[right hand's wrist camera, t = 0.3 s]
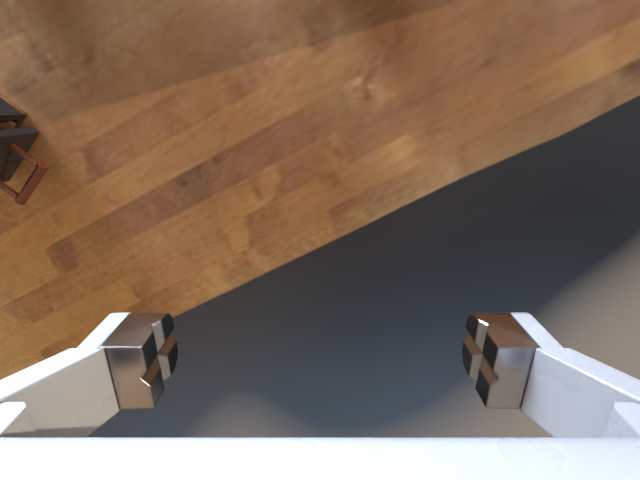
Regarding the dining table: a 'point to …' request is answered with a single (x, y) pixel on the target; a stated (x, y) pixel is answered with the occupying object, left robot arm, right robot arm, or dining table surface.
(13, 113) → the dark grey long box
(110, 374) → the right robot arm
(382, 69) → the dining table surface
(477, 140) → the dining table surface
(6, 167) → the drawer
